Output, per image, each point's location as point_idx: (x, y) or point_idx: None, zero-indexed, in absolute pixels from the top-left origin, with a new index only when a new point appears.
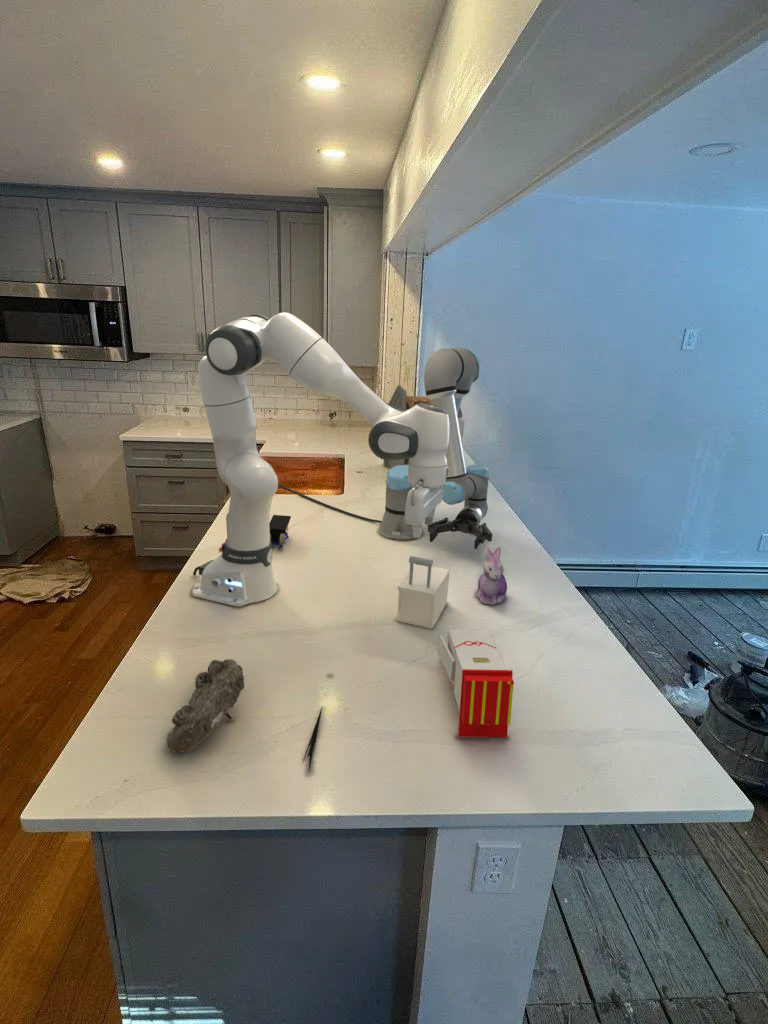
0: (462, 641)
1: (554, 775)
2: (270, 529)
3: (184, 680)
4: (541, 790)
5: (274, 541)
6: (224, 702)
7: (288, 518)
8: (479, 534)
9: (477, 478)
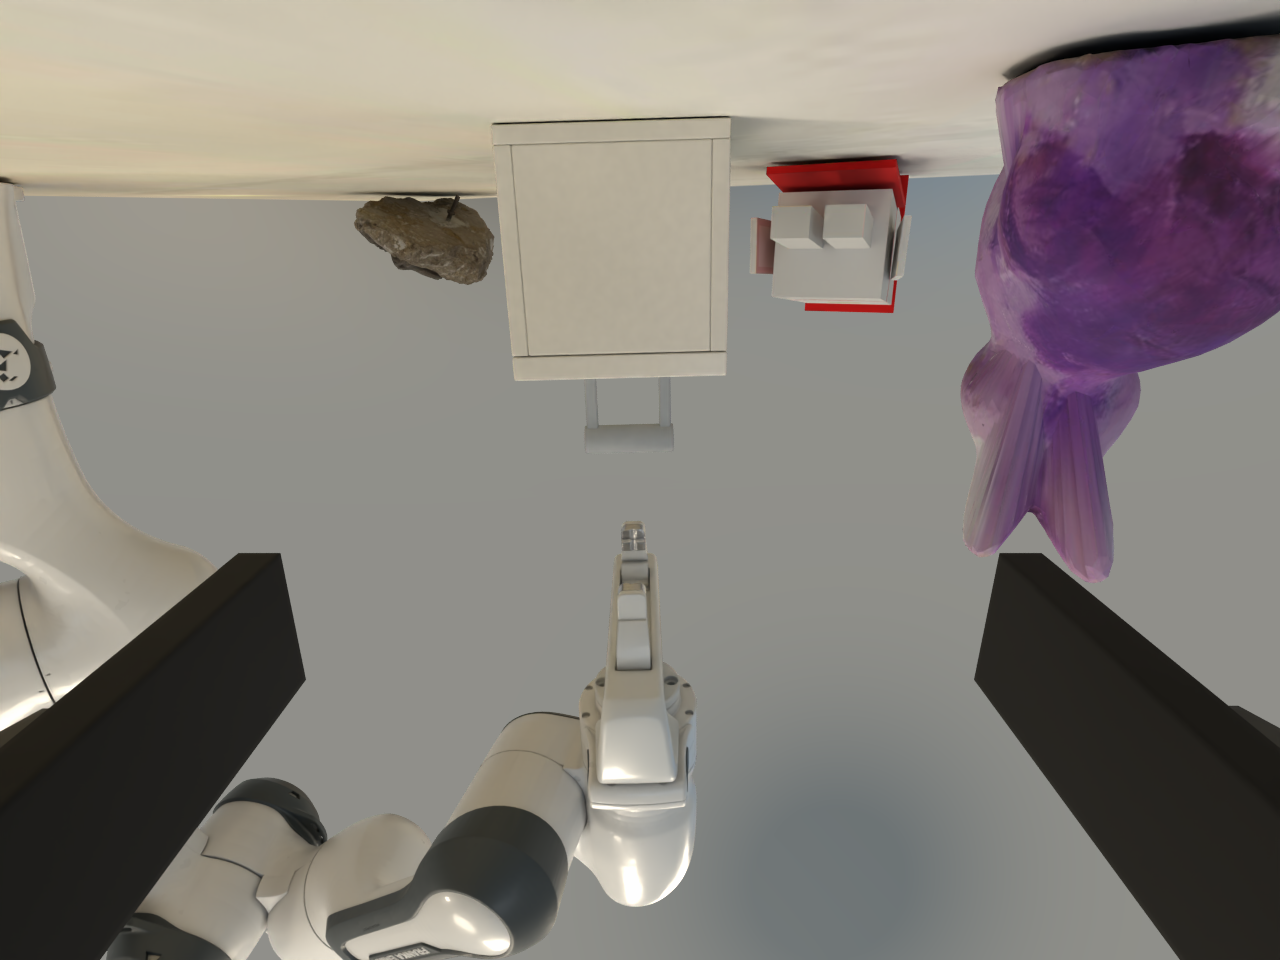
0: (807, 299)
1: (975, 172)
2: None
3: (304, 194)
4: (942, 175)
5: None
6: (489, 258)
7: None
8: (1191, 938)
9: None
